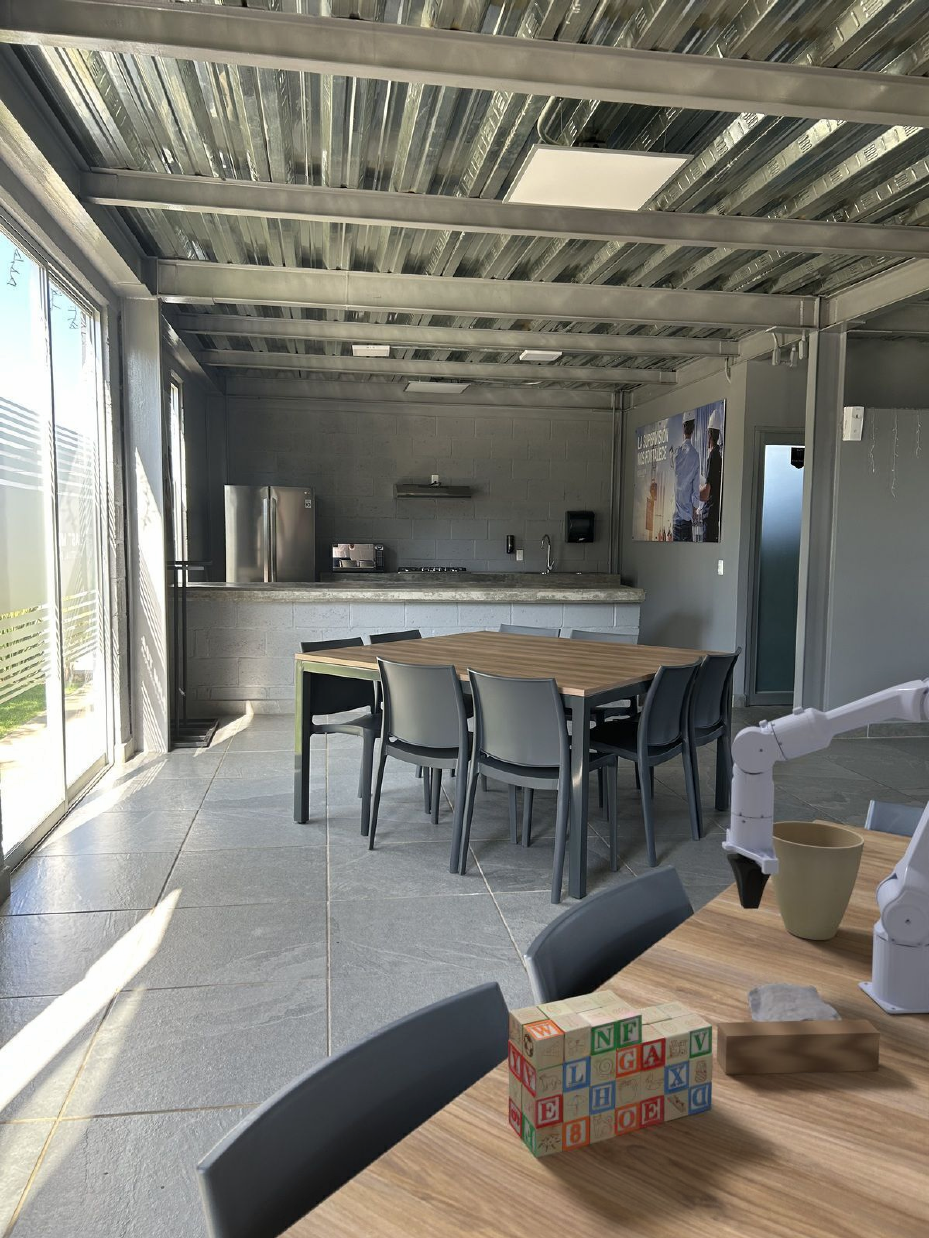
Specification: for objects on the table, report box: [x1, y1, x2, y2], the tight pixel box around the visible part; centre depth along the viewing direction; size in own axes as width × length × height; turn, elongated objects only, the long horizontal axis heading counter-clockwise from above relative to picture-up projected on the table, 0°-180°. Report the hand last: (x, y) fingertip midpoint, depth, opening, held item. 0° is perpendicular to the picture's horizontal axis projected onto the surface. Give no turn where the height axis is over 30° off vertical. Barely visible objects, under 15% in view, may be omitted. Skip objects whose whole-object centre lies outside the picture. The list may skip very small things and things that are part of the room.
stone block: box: [746, 982, 843, 1022], centre depth 112 cm, size 12×5×10 cm
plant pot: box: [770, 820, 865, 941], centre depth 142 cm, size 15×15×16 cm
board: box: [716, 1019, 881, 1075], centre depth 103 cm, size 18×3×4 cm, turn 93°
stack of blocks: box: [507, 989, 714, 1159], centre depth 93 cm, size 21×6×12 cm, turn 113°
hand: (749, 907), depth 126 cm, fingers closed
